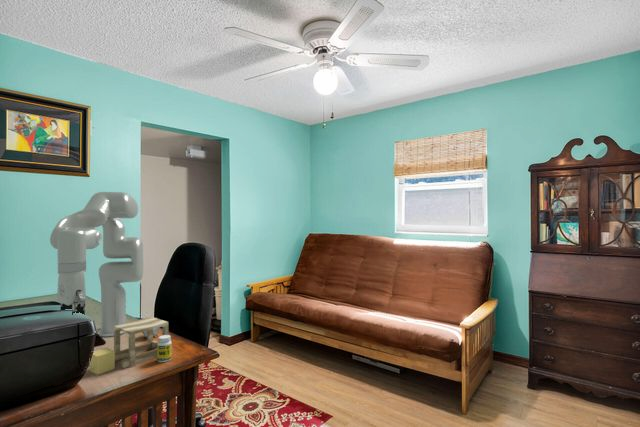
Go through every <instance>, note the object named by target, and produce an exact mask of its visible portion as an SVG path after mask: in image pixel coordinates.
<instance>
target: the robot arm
mask: <svg viewBox="0 0 640 427" xmlns="http://www.w3.org/2000/svg"><path fill="white" fill-rule="evenodd" d="M138 213H139V204H138V202H137V201H136V200H135V199H134V198H133V197H132V195H130V194H128V193H127V192H123V191H99V192H95V193H94V194H93V195H92V196H91V197H90V199H89V200H88V202H87V203H86V205H85V206H84V208H83V209H81V210H79V211H76V212H73V213H72V214H70V215H67V216H65V217H63V218H61V219H60V220H59V221H58V223H56V225H55V226H54V228H53V229H52V231H51V233H50V237H49V243H50V245H51V247H52V248H54V249H56V250H57V275H58V278H57V290H56V292H57V293H56V294H57V296H56V301H58V302H59V303H60V304H59V305H60V311H61V310H65V309H72V314H73V313H75V312H76V313H79V312H80V313H82V314H84V315H85V316H86V313H85V312H86V300H87V299H86V278H85V272H86V271H87V250H93V249H96V248H97V247H98V246H100V244H101V242H102V253H103V254H102V255H103V256H104V258H106V259H114V260H115V259H130V260H128V261H127V260H125V261H123V260H122V261H108V262H104V263H103V264H101V265H100V266H99V268H98V278H99V283H100V299H101V300H100V329H98V330H97V331H96V335H97V334H98V335H99V336H98V335H97V336H98V337H114V326H116V325H120V324H124V323H127V322H126V321H127V320H126V319H127V318H126V316H127V315H126V314H127V313H126V312H127V311H126V308H127V306H126V303H127V302H126V300H127V299H126V297H127V296H126V295H127V294H126V293H127V292H126V289H125V288H124V286H123V285H122V284H123V283H124V284H125V283H137V282H140V281H141V280H142V279H143V276H144V244H143V240H142V239H141V238H140V237H137V236H136V237H135V236H134V237H133V236H132V237H131V236H130V237H128V236H127V237H126V235H125V234H126V228H125V227H126V226H125V224H124V223H123V221H122V220H121V219H134V218H135V217H137V216H138ZM100 226H101V227H102V233H101V231H100V230H98V229H97V228H98V227H100ZM122 334H125V333H124V332H121V331H120V335H122Z"/></svg>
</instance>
